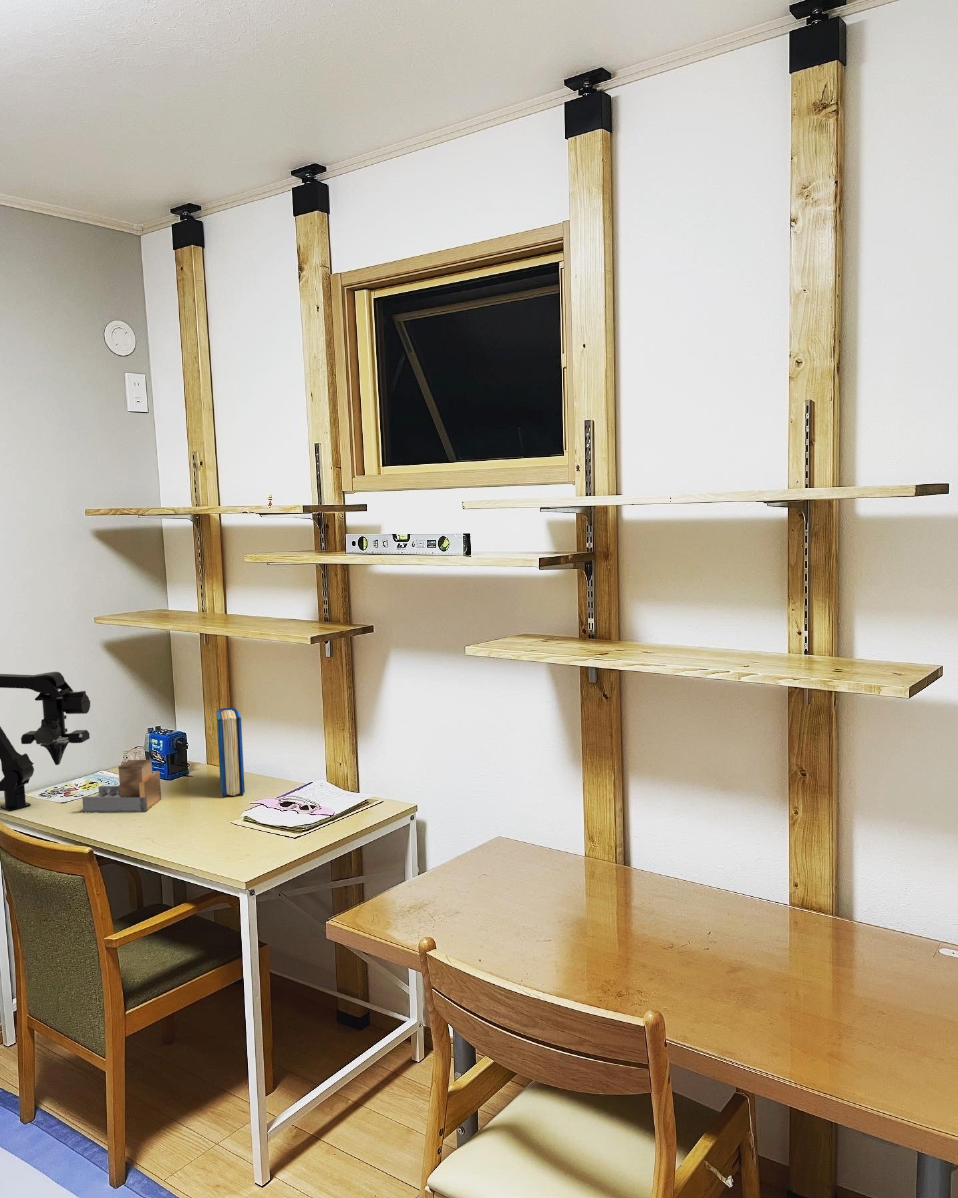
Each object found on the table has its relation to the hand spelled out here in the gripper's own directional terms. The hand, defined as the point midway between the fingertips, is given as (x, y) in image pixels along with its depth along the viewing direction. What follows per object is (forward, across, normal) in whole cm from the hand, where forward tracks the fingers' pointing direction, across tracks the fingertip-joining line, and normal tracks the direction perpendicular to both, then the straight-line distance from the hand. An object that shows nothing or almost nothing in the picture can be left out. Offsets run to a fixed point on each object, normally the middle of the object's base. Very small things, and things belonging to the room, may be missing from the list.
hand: (57, 764), depth 290 cm
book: (+14, +47, +18) cm, 52 cm away
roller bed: (+13, +19, 0) cm, 23 cm away
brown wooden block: (+10, +24, 0) cm, 26 cm away
